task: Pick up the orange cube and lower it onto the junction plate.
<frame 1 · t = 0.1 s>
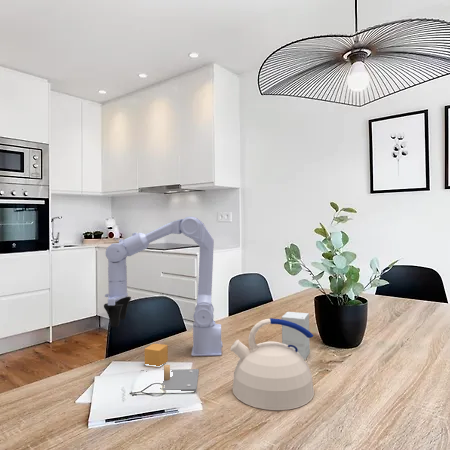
hand: (118, 322, 116), 10 cm above the table, fingers open, 7 cm apart
orange cube: (156, 363, 108), on the table
kettle: (272, 391, 91), on the table
supplement box: (296, 355, 114), on the table
junction plate: (167, 382, 95), on the table
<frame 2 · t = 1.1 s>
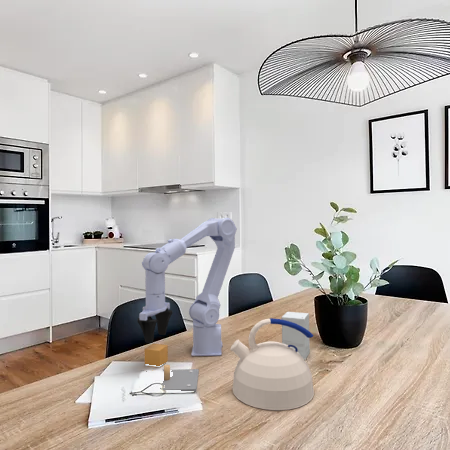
hand: (155, 338, 108), 8 cm above the table, fingers open, 7 cm apart
nothing on the table moved.
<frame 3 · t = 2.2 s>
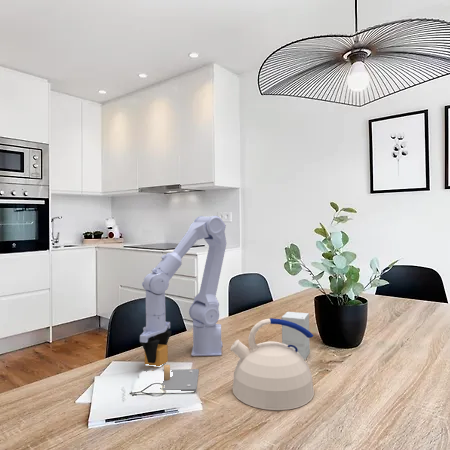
hand: (156, 358, 108), 1 cm above the table, fingers closed on orange cube, 5 cm apart
orange cube: (156, 363, 108), on the table, touching gripper
everything else where it was.
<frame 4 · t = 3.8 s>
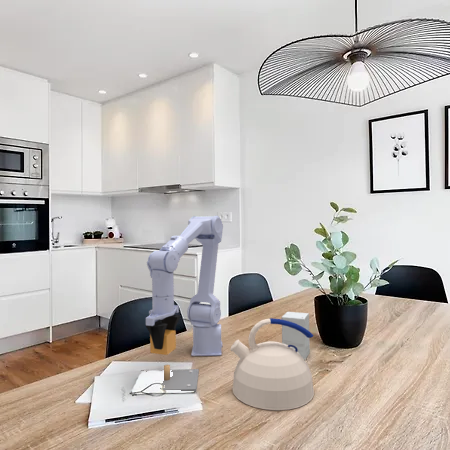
hand: (163, 345, 98), 9 cm above the table, fingers closed on orange cube, 5 cm apart
orange cube: (163, 350, 98), point 7 cm above the table, touching gripper
everything else where it was.
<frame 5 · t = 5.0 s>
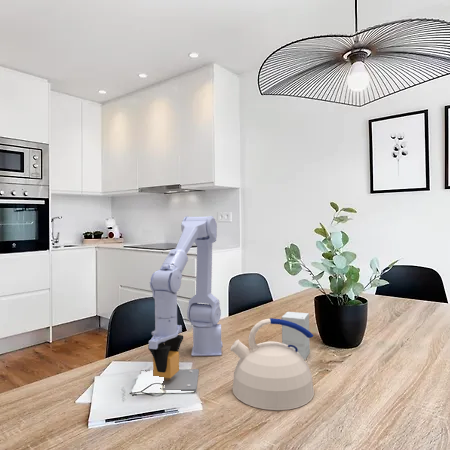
hand: (166, 367, 95), 4 cm above the table, fingers closed on orange cube, 5 cm apart
orange cube: (166, 373, 95), point 3 cm above the table, touching gripper
everything else where it was.
when the fingers open (3 cm above the table, at t = 5.7 s): orange cube stays where it is, resting on junction plate.
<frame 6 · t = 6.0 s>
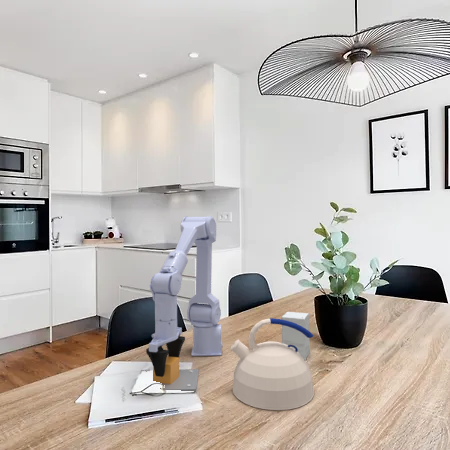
hand: (166, 369, 95), 3 cm above the table, fingers open, 7 cm apart
orange cube: (166, 378, 95), point 1 cm above the table, touching junction plate
everything else where it was.
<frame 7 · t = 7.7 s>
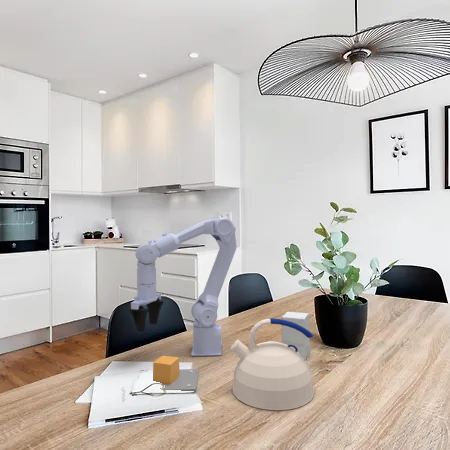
hand: (147, 327, 111), 10 cm above the table, fingers open, 7 cm apart
nothing on the table moved.
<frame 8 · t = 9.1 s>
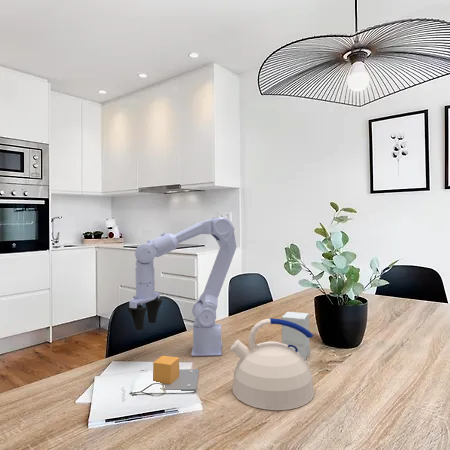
hand: (145, 325, 113), 10 cm above the table, fingers open, 7 cm apart
nothing on the table moved.
at the end: orange cube 0.1 cm off-centre on the junction plate, point 1.0 cm above the junction plate's base; orange cube tilted 0°; the gripper is holding nothing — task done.
